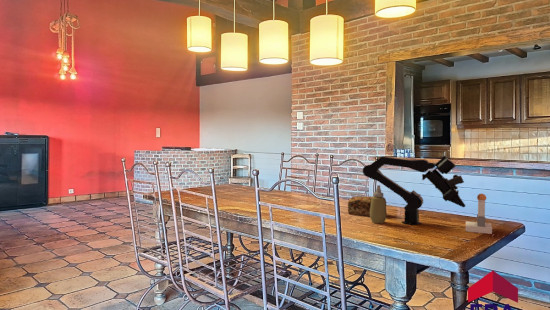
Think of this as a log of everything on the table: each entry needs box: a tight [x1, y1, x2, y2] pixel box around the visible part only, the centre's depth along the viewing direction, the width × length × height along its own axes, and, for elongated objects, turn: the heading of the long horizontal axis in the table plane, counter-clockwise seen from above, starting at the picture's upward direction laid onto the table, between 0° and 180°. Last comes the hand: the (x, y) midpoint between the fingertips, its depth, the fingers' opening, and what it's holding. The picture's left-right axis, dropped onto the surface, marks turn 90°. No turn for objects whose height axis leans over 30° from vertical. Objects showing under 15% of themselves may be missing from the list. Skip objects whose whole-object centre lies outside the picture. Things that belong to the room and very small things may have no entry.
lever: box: [476, 193, 487, 218], centre depth 164 cm, size 4×5×14 cm
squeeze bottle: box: [369, 185, 388, 224], centre depth 180 cm, size 8×8×18 cm
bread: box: [347, 195, 387, 217], centre depth 199 cm, size 19×11×10 cm, turn 59°
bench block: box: [465, 213, 493, 235], centre depth 165 cm, size 10×10×6 cm
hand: (464, 206), depth 167 cm, fingers closed
